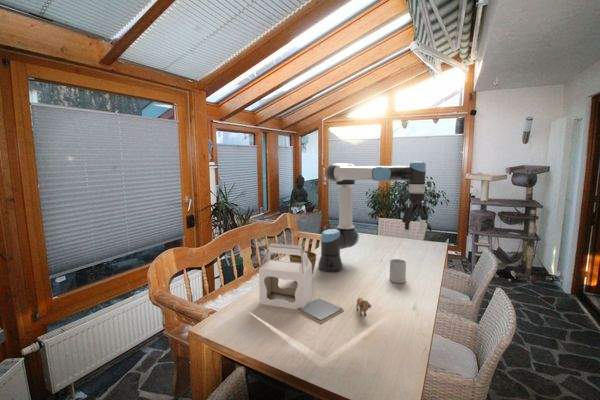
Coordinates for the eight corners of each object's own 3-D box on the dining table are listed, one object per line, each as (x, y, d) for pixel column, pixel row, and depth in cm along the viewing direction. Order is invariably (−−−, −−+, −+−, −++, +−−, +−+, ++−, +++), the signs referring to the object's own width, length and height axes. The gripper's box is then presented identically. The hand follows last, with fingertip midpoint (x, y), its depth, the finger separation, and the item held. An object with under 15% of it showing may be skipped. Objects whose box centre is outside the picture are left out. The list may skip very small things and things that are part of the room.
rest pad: (295, 310, 128) (295, 308, 128) (318, 300, 138) (318, 297, 138) (321, 323, 117) (321, 320, 117) (343, 310, 127) (343, 308, 127)
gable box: (259, 304, 135) (257, 246, 132) (270, 292, 148) (269, 239, 145) (304, 311, 128) (303, 250, 125) (312, 298, 140) (312, 242, 137)
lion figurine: (372, 318, 121) (372, 301, 120) (362, 319, 120) (363, 303, 119) (360, 305, 132) (360, 290, 131) (351, 306, 131) (351, 291, 130)
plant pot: (284, 283, 159) (283, 255, 157) (302, 275, 170) (302, 249, 168) (304, 290, 149) (303, 260, 147) (321, 282, 160) (322, 254, 158)
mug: (402, 284, 156) (403, 264, 155) (387, 281, 161) (387, 261, 160) (409, 277, 165) (409, 259, 164) (394, 274, 170) (395, 256, 169)
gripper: (409, 194, 135) (407, 239, 137) (436, 191, 150) (434, 231, 152) (395, 193, 141) (394, 236, 143) (423, 191, 156) (421, 229, 158)
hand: (415, 234), depth 147 cm, fingers open, 13 cm apart
